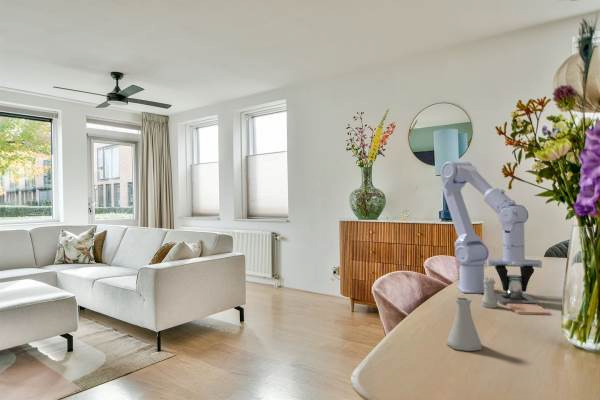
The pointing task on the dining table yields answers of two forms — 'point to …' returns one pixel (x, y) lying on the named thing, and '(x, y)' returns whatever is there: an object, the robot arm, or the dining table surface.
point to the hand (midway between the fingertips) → (514, 290)
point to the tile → (528, 309)
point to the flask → (464, 328)
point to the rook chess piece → (489, 294)
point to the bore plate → (503, 301)
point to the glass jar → (514, 286)
